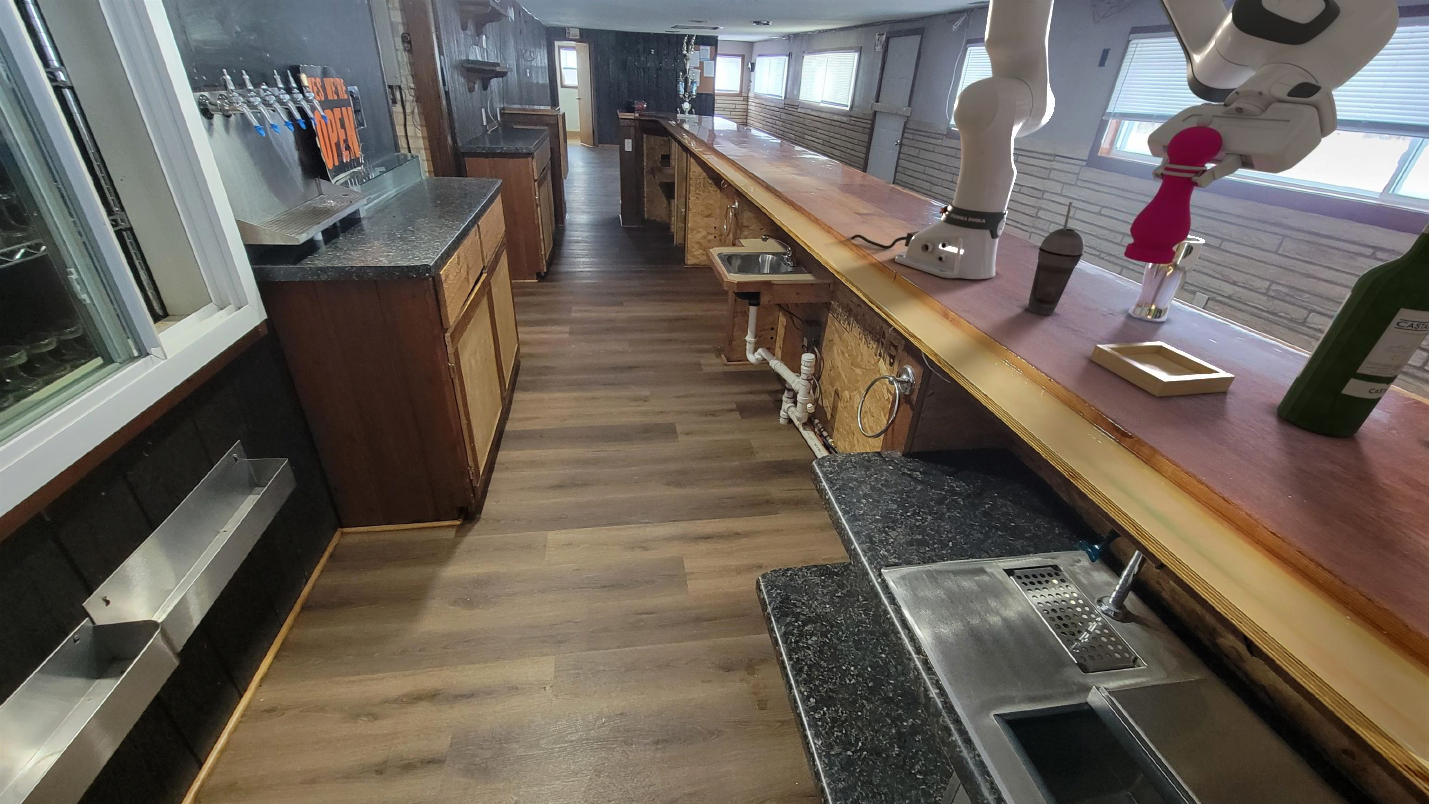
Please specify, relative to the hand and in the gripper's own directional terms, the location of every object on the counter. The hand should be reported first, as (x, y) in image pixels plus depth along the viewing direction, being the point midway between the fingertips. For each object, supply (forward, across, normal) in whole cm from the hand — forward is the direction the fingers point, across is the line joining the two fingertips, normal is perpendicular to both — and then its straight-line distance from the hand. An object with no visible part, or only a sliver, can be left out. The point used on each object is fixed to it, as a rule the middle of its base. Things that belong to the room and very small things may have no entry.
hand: (1176, 180), depth 81 cm
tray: (+19, +10, +18) cm, 28 cm away
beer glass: (+4, -12, +34) cm, 36 cm away
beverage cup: (+18, -17, +19) cm, 32 cm away
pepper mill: (+8, 0, +9) cm, 12 cm away
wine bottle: (+12, +25, +25) cm, 38 cm away
